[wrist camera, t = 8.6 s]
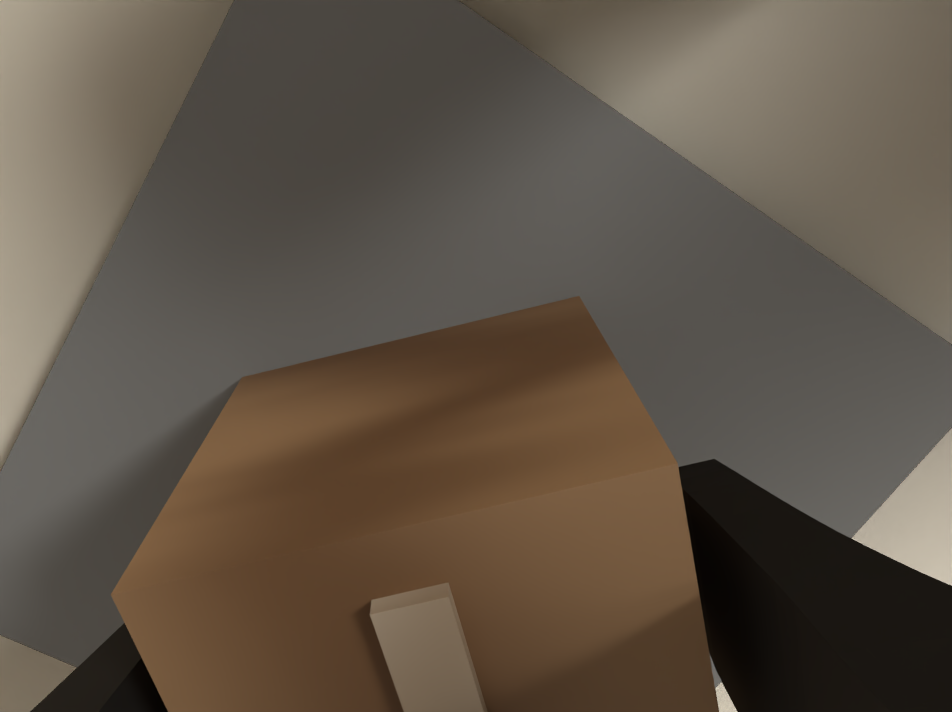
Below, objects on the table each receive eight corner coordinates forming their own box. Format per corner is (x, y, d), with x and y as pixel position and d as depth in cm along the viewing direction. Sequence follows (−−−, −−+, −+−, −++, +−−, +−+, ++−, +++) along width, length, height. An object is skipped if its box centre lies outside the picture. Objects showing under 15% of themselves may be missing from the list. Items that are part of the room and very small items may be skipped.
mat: (972, 362, 13) (997, 377, 12) (547, 839, 16) (552, 867, 15) (300, -107, 10) (292, -116, 9) (-46, 583, 13) (-67, 607, 13)
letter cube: (579, 296, 11) (685, 474, 7) (635, 579, 13) (751, 887, 8) (242, 377, 12) (101, 608, 7) (342, 645, 13) (287, 983, 9)
